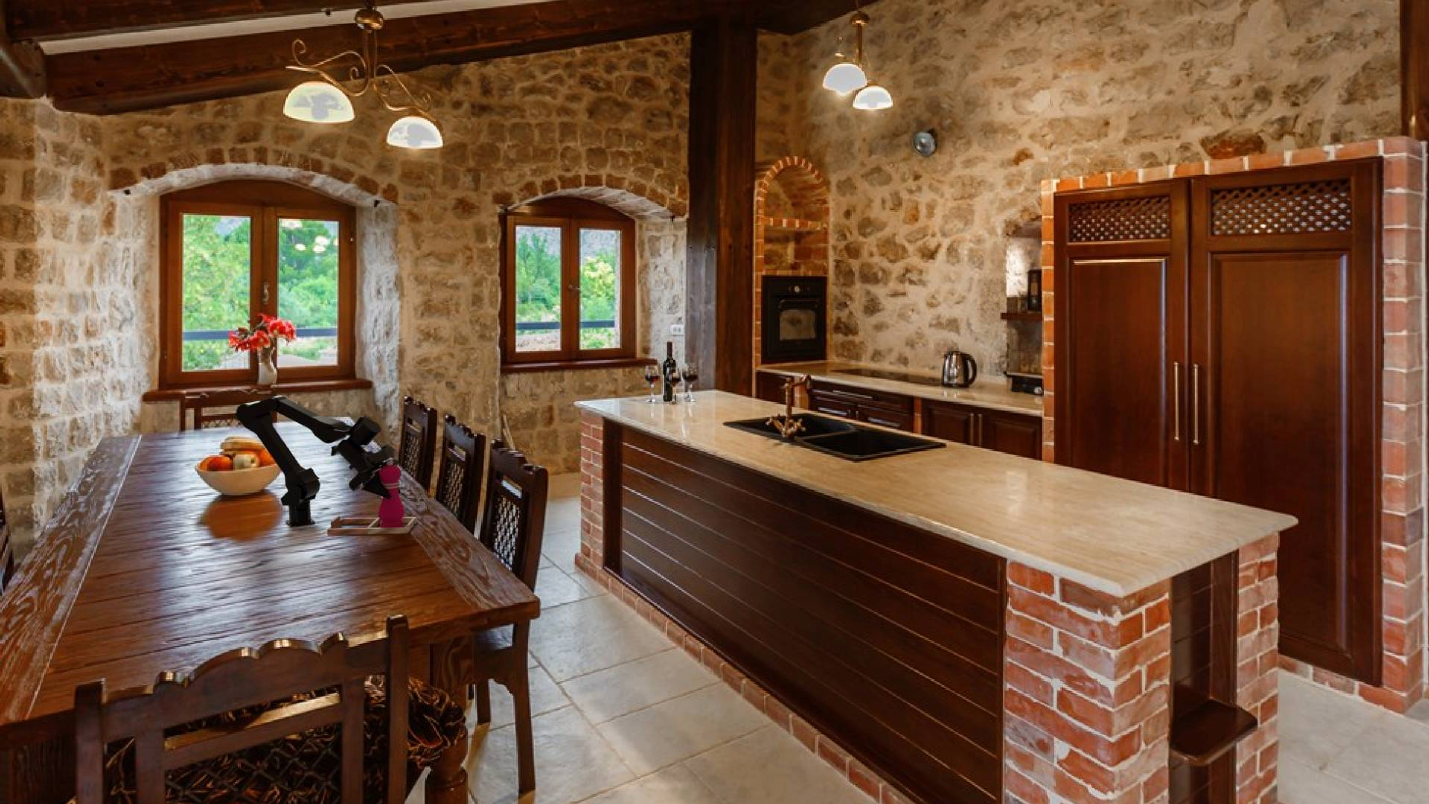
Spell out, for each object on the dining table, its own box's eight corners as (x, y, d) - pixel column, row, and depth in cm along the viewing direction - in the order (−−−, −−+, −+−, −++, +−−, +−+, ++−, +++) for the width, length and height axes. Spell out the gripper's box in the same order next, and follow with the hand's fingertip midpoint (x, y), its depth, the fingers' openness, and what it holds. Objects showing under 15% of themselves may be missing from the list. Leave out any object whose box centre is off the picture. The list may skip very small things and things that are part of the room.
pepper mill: (396, 532, 230) (393, 463, 228) (373, 530, 232) (370, 461, 229) (410, 525, 237) (408, 458, 235) (388, 523, 239) (385, 456, 236)
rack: (327, 534, 227) (326, 524, 227) (341, 523, 238) (340, 513, 238) (406, 533, 230) (406, 522, 229) (416, 522, 241) (416, 512, 240)
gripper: (357, 443, 222) (397, 485, 222) (391, 431, 241) (428, 469, 241) (331, 470, 224) (371, 511, 224) (367, 456, 243) (404, 494, 243)
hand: (395, 495), depth 233 cm, fingers closed on pepper mill, 5 cm apart
